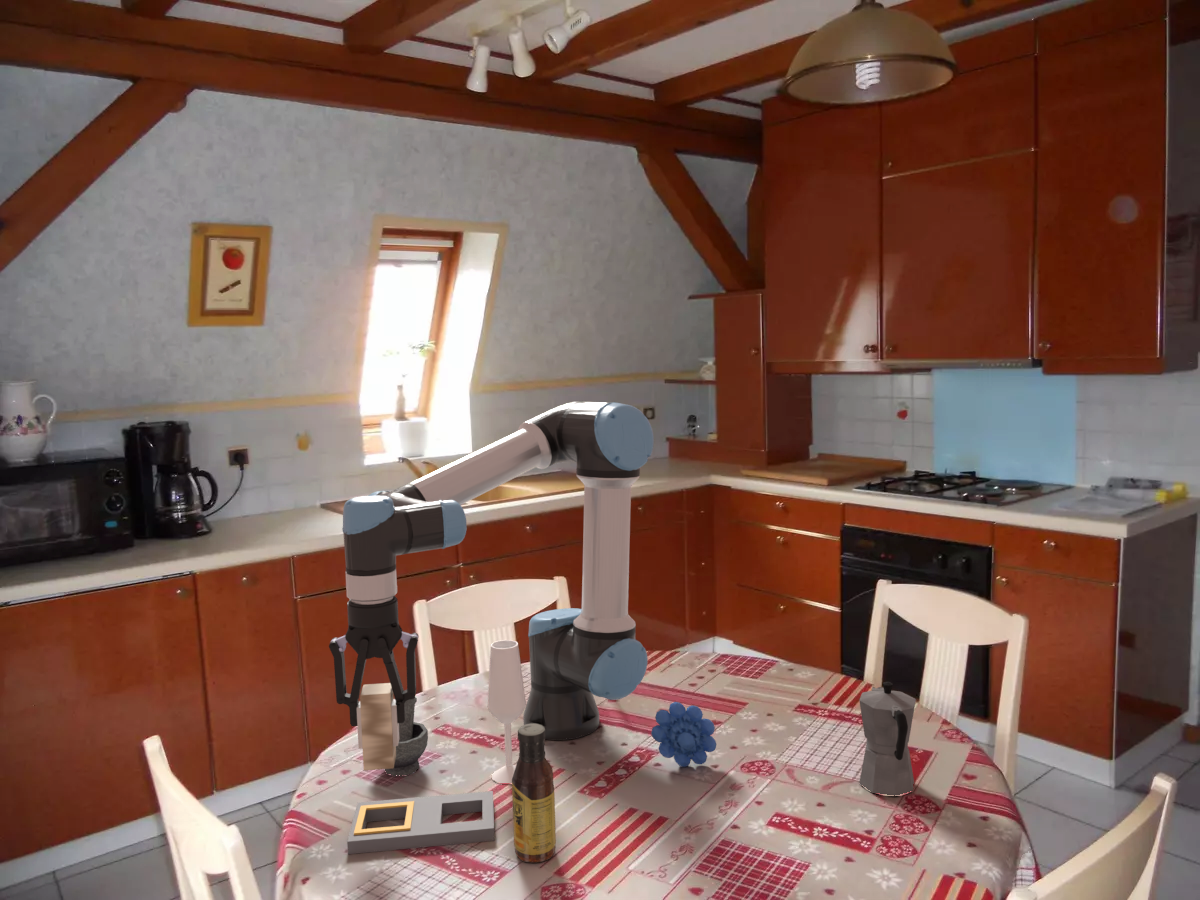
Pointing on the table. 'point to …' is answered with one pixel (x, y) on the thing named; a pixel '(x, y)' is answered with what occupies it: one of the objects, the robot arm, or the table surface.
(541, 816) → the sauce bottle
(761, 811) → the table surface
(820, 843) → the table surface
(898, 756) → the coffeepot
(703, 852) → the table surface
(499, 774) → the champagne flute
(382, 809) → the peg board
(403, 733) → the mortar and pestle
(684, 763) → the blue flower
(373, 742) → the wooden peg
